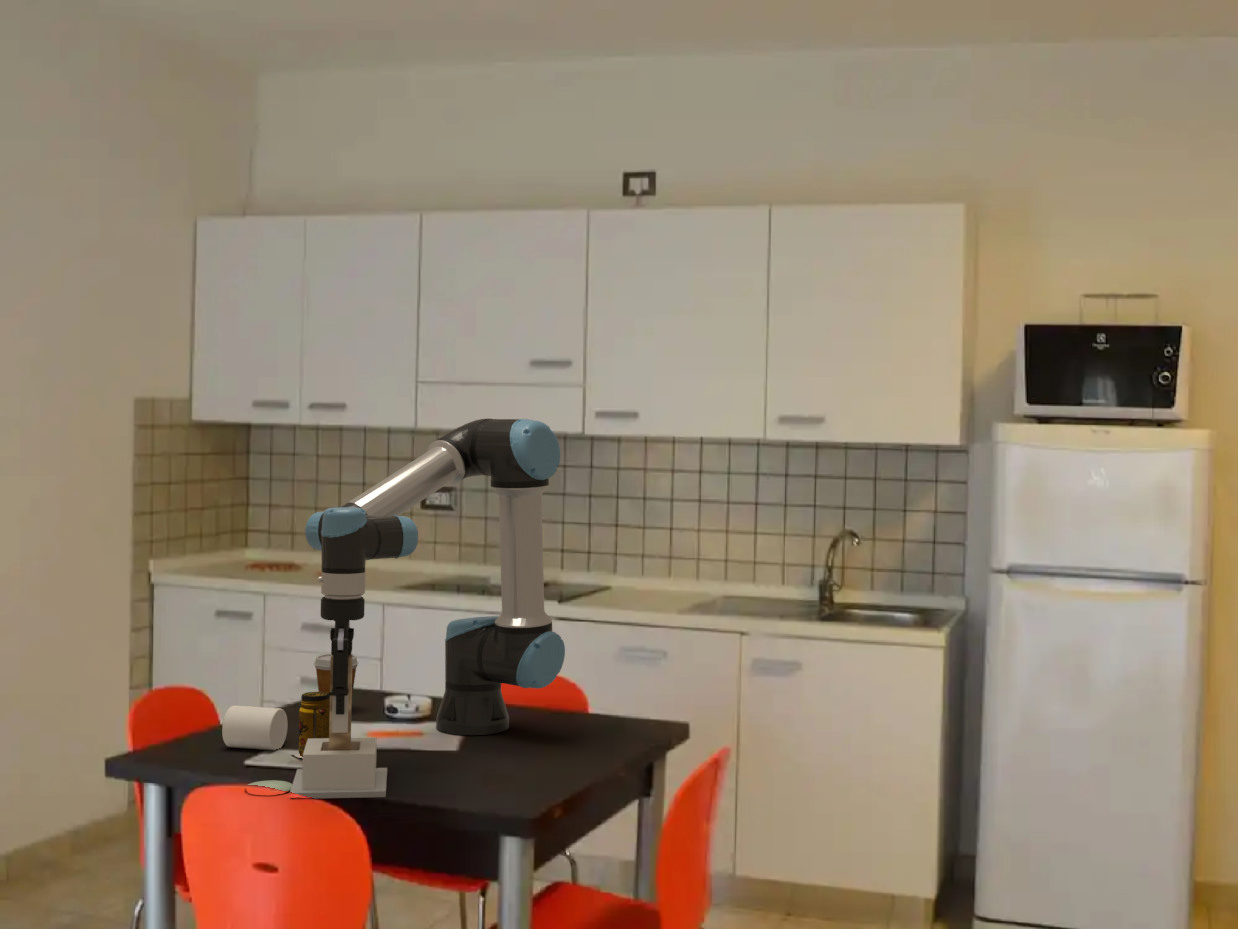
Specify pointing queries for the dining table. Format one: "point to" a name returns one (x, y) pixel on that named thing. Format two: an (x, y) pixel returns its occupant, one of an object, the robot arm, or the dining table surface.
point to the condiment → (313, 717)
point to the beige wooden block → (344, 739)
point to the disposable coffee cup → (324, 672)
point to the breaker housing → (340, 771)
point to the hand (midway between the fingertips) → (340, 729)
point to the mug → (254, 727)
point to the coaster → (274, 784)
